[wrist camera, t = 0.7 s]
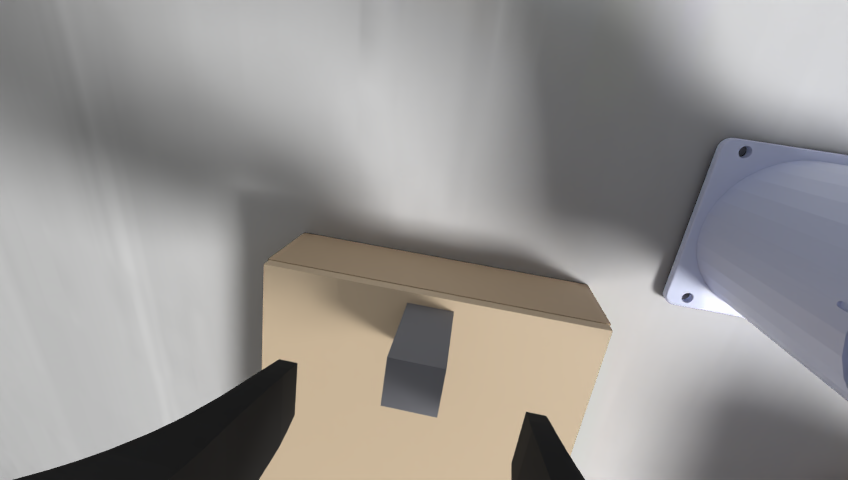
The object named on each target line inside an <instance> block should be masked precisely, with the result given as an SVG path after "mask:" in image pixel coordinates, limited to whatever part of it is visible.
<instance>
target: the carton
mask: <svg viewBox="0 0 848 480" xmlns="http://www.w3.org/2000/svg"><path fill="white" fill-rule="evenodd" d="M269 260H272V261H277V262H282V263H287V264H292V265H298V266H303V267H308V268H313V269H319V270H324V271H329V272H334V273H340V274H345V275H350V276H355V277H361V278H366V279H371V280H376V281H382V282H387V283H392V284H397V285H403V286H408V287H413V288H418V289H424V290H429V291H434V292H439V293H444V294H450V295H455V296H460V297H465V298H471V299H476V300H481V301H486V302H492V303H497V304H502V305H507V306H513V307H518V308H523V309H528V310H534V311H539V312H544V313H549V314H555V315H560V316H565V317H570V318H576V319H581V320H586V321H591V322H596V323H602V324H607V325H609V326H610V325H611V324H610V322H609V320H608V319H607V317H606V315H605V314H604V312H603V310H602V309H601V307H600V305H599V303H598V302H597V300H596V298H595V297H594V295H593V293H592V292H591V290H590V288H589V287H588V285H586V284H581V283H575V282H570V281H565V280H559V279H554V278H548V277H543V276H537V275H532V274H527V273H521V272H516V271H510V270H505V269H499V268H494V267H489V266H483V265H478V264H472V263H467V262H461V261H456V260H451V259H445V258H440V257H434V256H429V255H423V254H418V253H413V252H407V251H402V250H396V249H391V248H385V247H380V246H375V245H369V244H364V243H358V242H353V241H347V240H342V239H336V238H331V237H326V236H320V235H315V234H309V233H303V234H302V235H301V236H299V237H298V238H296V239H295V240H294V241H292V242H291V243H289V244H288V245H287V246H285V247H284V248H283V249H281V250H280V251H278V252H277V253H276V254H274V255H273V256H272V257H270V258H269V259H268V261H269Z"/></svg>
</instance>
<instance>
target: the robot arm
mask: <svg viewBox="0 0 848 480" xmlns="http://www.w3.org/2000/svg"><path fill="white" fill-rule="evenodd" d="M744 146H745V147H746V148H747V151H746V153H745V155H744V156H742V157H740V156H739V150H740V149H741V148H742V147H744ZM686 293H690V295H689V297H688V298H686V299H682V296H683V295H684V294H686ZM663 296H664V298H665V299H666V300H667V301H668V302H669V303H670V304H673V305H678V306H683V307H689V308H694V309H700V310H705V311H710V312H716V313H721V314H727V315H732V316H737V317H743V318H745V319H747V320H748V321H749V322H750V323H752V324H753V325H754V326H755V327H756V328H758V329H759V330H760V331H761V332H763V333H764V334H765V335H766V336H768V337H769V338H770V339H771V340H773V341H774V342H775V343H776V344H778V345H779V346H780V347H781V348H782V349H784V350H785V351H786V352H787V353H789V354H790V355H791V356H792V357H794V358H795V359H796V360H797V361H799V362H800V363H801V364H802V365H804V366H805V367H806V368H807V369H808V370H810V371H811V372H812V373H813V374H815V375H816V376H817V377H818V378H820V379H821V380H822V381H823V382H825V383H826V384H827V385H828V386H830V387H831V388H832V389H833V390H834V391H836V392H837V393H838V394H839V395H841V396H842V397H843V398H844V399H846V400H847V401H848V155H843V154H837V153H830V152H824V151H817V150H811V149H804V148H797V147H791V146H784V145H778V144H771V143H765V142H758V141H752V140H745V139H739V138H727V139H724V140H723V141H721V142H720V143H719V145H718V146H717V148H716V151H715V154H714V156H713V159H712V162H711V164H710V167H709V170H708V173H707V175H706V178H705V181H704V183H703V186H702V189H701V191H700V194H699V197H698V199H697V202H696V205H695V207H694V210H693V213H692V215H691V218H690V221H689V223H688V226H687V229H686V232H685V234H684V237H683V240H682V242H681V245H680V248H679V250H678V253H677V256H676V258H675V261H674V264H673V266H672V269H671V272H670V274H669V277H668V280H667V282H666V285H665V288H664V291H663ZM297 365H298V363H295V362H291V361H286V360H281V359H279V360H277V361H275V362H274V363H272V364H271V365H269V366H268V367H266V368H264V369H263V370H261V371H260V372H258V373H257V374H255V375H254V376H252V377H251V378H249V379H247V380H246V381H244V382H243V383H241V384H240V385H238V386H236V387H235V388H233V389H232V390H230V391H228V392H227V393H225V394H224V395H222V396H220V397H219V398H217V399H215V400H213V401H212V402H210V403H208V404H206V405H204V406H203V407H201V408H199V409H197V410H196V411H194V412H192V413H190V414H188V415H186V416H185V417H183V418H181V419H179V420H177V421H175V422H173V423H171V424H168V425H166V426H164V427H162V428H160V429H158V430H156V431H153V432H151V433H149V434H147V435H144V436H142V437H139V438H137V439H134V440H132V441H130V442H127V443H125V444H122V445H120V446H117V447H115V448H112V449H110V450H107V451H104V452H102V453H99V454H96V455H93V456H90V457H87V458H85V459H82V460H79V461H76V462H72V463H69V464H66V465H63V466H60V467H57V468H53V469H50V470H47V471H43V472H40V473H36V474H32V475H29V476H25V477H21V478H18V479H14V480H259V479H260V477H261V476H262V474H263V473H264V471H265V469H266V468H267V466H268V465H269V463H270V461H271V460H272V458H273V457H274V455H275V453H276V452H277V450H278V448H279V447H280V445H281V443H282V441H283V439H284V437H285V435H286V433H287V431H288V428H289V426H290V424H291V422H292V420H293V418H294V416H295V402H296V383H297ZM511 480H585V479H584V478H583V476H582V474H581V473H580V471H579V470H578V468H577V467H576V465H575V463H574V462H573V460H572V459H571V457H570V455H569V454H568V452H567V450H566V448H565V447H564V445H563V443H562V442H561V440H560V438H559V437H558V435H557V433H556V431H555V430H554V428H553V426H552V424H551V423H550V421H549V419H548V418H547V416H544V415H540V414H535V413H530V412H526V413H525V417H524V420H523V424H522V428H521V431H520V435H519V438H518V442H517V445H516V449H515V452H514V456H513V459H512V463H511Z"/></svg>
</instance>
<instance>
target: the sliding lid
mask: <svg viewBox="0 0 848 480" xmlns="http://www.w3.org/2000/svg"><path fill="white" fill-rule="evenodd" d="M612 332H613V331H612V329H611V327H610V326H609V325H607V324H602V323H596V322H591V321H586V320H581V319H576V318H570V317H565V316H560V315H555V314H549V313H544V312H539V311H534V310H528V309H523V308H518V307H513V306H507V305H502V304H497V303H492V302H486V301H481V300H476V299H471V298H465V297H460V296H455V295H450V294H444V293H439V292H434V291H429V290H424V289H418V288H413V287H408V286H403V285H397V284H392V283H387V282H382V281H376V280H371V279H366V278H361V277H355V276H350V275H345V274H340V273H334V272H329V271H324V270H319V269H313V268H308V267H303V266H298V265H292V264H287V263H282V262H277V261H272V260H269V261H267V262H266V263H265V264H264V274H263V328H262V370H263V369H264V368H266V367H268V366H269V365H271V364H272V363H274V362H275V361H277V360H279V359H281V360H286V361H291V362H295V363H298V365H297V383H296V402H295V416H294V418H293V420H292V422H291V424H290V426H289V428H288V431H287V433H286V435H285V437H284V439H283V441H282V443H281V445H280V447H279V448H278V450H277V452H276V453H275V455H274V457H273V458H272V460H271V461H270V463H269V465H268V466H267V468H266V469H265V471H264V473H263V474H262V476H261V477H260V480H511V463H512V459H513V456H514V452H515V449H516V445H517V442H518V438H519V435H520V431H521V428H522V424H523V420H524V417H525V413H526V412H530V413H535V414H540V415H544V416H547V418H548V419H549V421H550V423H551V424H552V426H553V428H554V430H555V431H556V433H557V435H558V437H559V438H560V440H561V442H562V443H563V445H564V447H565V448H566V450H567V452H568V454H569V455H571V452H572V449H573V446H574V443H575V440H576V437H577V435H578V432H579V429H580V426H581V423H582V420H583V417H584V414H585V411H586V408H587V405H588V402H589V399H590V396H591V393H592V390H593V387H594V385H595V382H596V379H597V376H598V373H599V370H600V367H601V364H602V361H603V358H604V355H605V352H606V349H607V346H608V343H609V340H610V337H611V335H612Z"/></svg>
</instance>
